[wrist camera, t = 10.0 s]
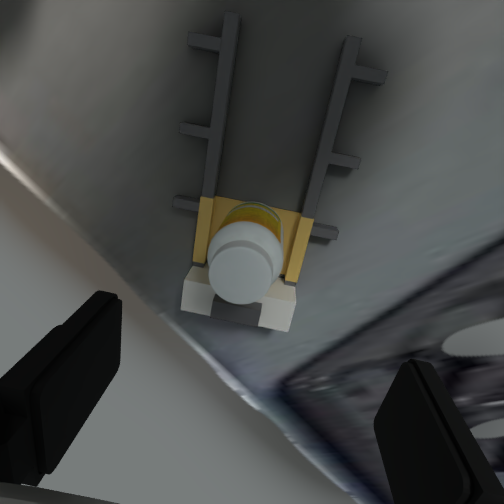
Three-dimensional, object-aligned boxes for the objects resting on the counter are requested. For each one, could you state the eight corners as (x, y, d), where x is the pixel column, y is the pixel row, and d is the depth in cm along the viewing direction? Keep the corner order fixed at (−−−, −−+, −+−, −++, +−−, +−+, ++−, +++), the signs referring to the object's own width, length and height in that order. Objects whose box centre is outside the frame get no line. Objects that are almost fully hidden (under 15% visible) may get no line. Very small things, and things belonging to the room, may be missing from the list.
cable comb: (195, 9, 23) (172, -20, 18) (390, 48, 23) (419, 29, 18) (168, 283, 32) (148, 311, 27) (311, 312, 32) (316, 346, 27)
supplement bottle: (288, 251, 29) (291, 308, 21) (231, 262, 30) (211, 321, 21) (276, 193, 28) (273, 228, 19) (216, 206, 28) (185, 246, 20)
